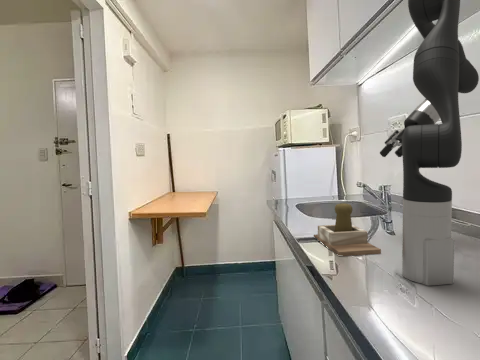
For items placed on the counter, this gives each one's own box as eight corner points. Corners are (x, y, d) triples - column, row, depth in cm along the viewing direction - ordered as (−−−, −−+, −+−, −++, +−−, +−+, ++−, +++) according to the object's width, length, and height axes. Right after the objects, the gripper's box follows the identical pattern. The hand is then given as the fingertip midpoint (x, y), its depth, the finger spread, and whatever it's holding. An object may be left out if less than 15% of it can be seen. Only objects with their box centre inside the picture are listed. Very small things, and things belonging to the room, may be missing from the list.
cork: (356, 241, 99) (356, 205, 98) (336, 241, 100) (335, 205, 99) (350, 236, 105) (350, 202, 104) (331, 236, 106) (331, 202, 105)
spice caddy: (381, 253, 91) (381, 236, 90) (339, 256, 89) (338, 239, 89) (348, 236, 110) (348, 222, 110) (313, 238, 109) (313, 224, 109)
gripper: (402, 112, 111) (369, 147, 110) (431, 106, 97) (394, 146, 96) (416, 128, 112) (384, 163, 111) (448, 124, 98) (411, 164, 97)
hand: (389, 155), depth 104 cm, fingers open, 8 cm apart
